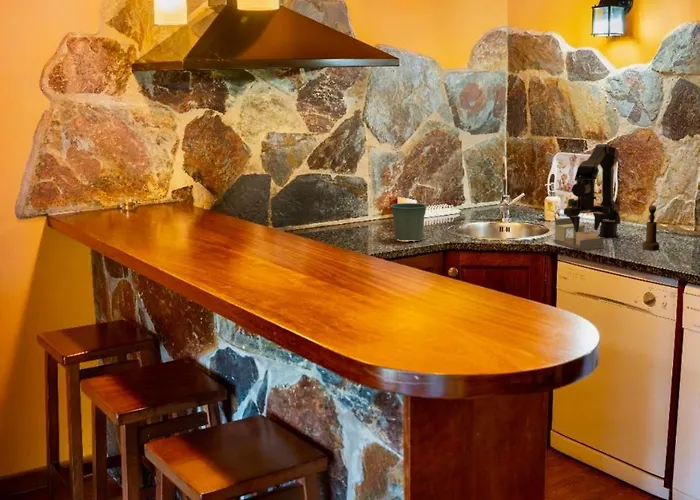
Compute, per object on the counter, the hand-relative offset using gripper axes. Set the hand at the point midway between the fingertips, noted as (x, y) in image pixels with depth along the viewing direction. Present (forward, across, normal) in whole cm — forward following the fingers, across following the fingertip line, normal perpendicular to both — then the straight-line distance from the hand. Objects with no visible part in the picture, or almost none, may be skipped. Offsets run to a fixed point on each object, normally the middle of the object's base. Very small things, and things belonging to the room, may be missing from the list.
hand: (586, 231), depth 341 cm
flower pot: (+7, +59, -49) cm, 77 cm away
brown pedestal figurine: (+7, -22, +14) cm, 27 cm away
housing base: (+7, 0, -6) cm, 9 cm away
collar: (+6, 0, 0) cm, 6 cm away
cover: (+5, 0, -12) cm, 13 cm away
